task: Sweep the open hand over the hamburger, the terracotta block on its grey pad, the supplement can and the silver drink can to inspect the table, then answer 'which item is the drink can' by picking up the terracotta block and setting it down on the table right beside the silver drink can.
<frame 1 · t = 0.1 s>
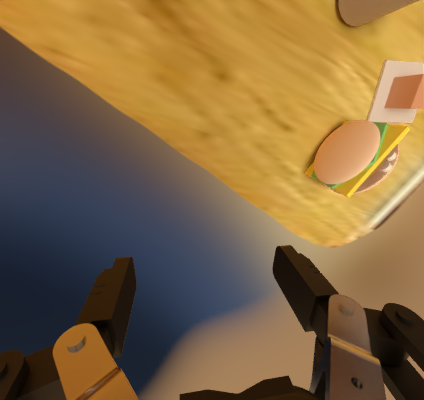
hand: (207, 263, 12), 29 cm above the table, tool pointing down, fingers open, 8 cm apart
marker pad: (398, 93, 39), on the table
block: (400, 93, 39), resting on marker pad
hamburger: (329, 152, 43), on the table
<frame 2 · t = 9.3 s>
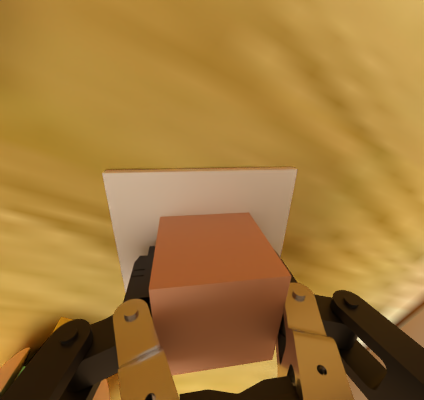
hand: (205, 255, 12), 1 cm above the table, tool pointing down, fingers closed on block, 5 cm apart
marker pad: (204, 245, 13), on the table
block: (205, 250, 13), point 1 cm above the table, touching gripper, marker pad
hamburger: (62, 370, 16), on the table
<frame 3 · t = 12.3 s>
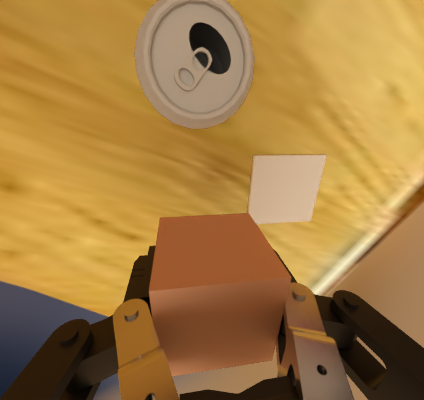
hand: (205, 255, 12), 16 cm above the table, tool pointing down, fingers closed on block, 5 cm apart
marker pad: (283, 190, 30), on the table
block: (205, 251, 13), point 15 cm above the table, touching gripper
can: (188, 82, 23), on the table
when the fingers open (2 cm above the table, at t = 15.5 s): block drops 2 cm, on the table.
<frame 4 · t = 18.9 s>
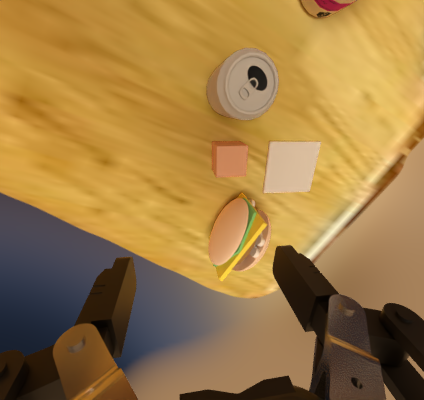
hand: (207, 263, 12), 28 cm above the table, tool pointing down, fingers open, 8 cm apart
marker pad: (290, 167, 41), on the table
block: (225, 155, 38), on the table
can: (228, 91, 34), on the table
hamburger: (231, 219, 44), on the table
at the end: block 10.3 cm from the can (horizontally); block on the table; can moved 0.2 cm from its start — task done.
